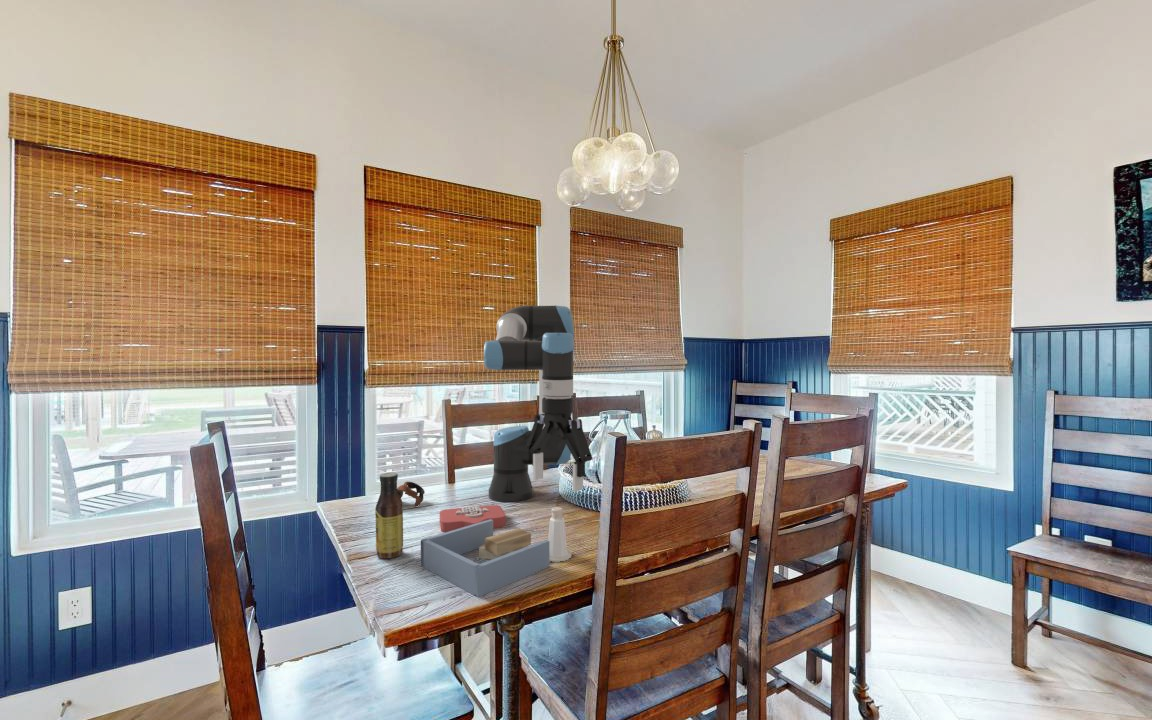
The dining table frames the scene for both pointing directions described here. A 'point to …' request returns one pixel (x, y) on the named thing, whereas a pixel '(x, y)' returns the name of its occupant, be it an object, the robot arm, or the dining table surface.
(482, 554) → the birch offcut
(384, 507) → the sauce bottle
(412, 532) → the dining table surface
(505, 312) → the robot arm
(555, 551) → the pepper shaker
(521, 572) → the tray
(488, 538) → the oak offcut
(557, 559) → the stone coaster
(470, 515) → the plaque
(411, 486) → the coiled leather belt
